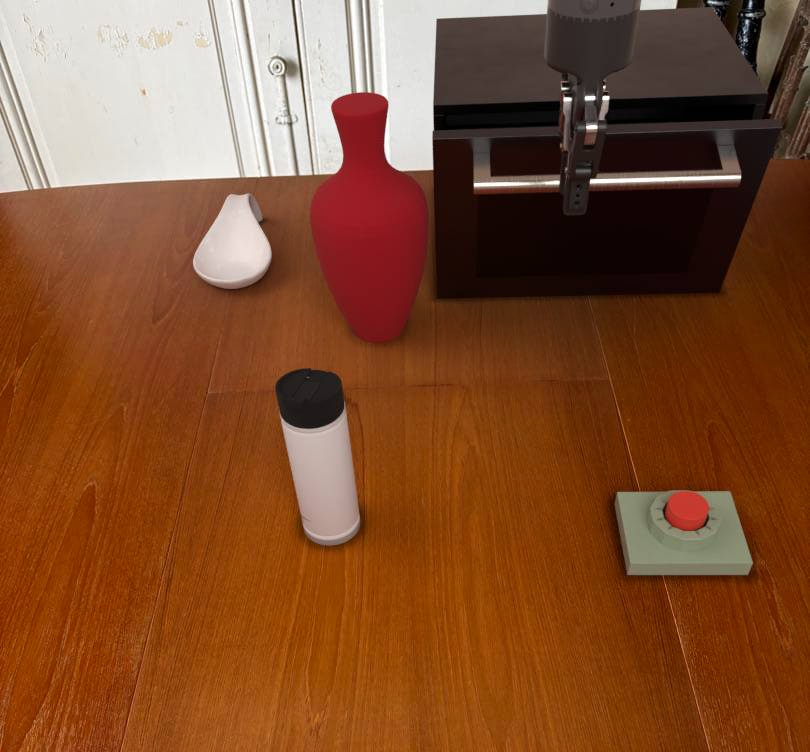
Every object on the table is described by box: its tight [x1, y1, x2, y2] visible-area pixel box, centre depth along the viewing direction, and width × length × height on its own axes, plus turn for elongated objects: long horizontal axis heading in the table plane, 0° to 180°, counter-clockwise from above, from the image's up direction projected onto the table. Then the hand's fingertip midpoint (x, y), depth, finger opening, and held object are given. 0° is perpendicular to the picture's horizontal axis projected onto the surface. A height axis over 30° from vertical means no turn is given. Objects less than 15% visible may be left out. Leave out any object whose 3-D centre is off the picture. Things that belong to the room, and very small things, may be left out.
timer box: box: [614, 489, 754, 576], centre depth 84 cm, size 12×10×4 cm
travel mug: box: [274, 367, 361, 547], centre depth 82 cm, size 6×7×20 cm
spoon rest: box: [192, 192, 273, 290], centre depth 125 cm, size 24×12×7 cm, turn 2°
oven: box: [432, 6, 769, 131], centre depth 118 cm, size 32×40×26 cm
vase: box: [309, 91, 430, 344], centre depth 102 cm, size 15×15×30 cm
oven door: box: [431, 118, 783, 300], centre depth 104 cm, size 7×40×26 cm, turn 88°
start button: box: [665, 490, 709, 531], centre depth 82 cm, size 4×4×2 cm
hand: (572, 202), depth 79 cm, fingers open, 3 cm apart
